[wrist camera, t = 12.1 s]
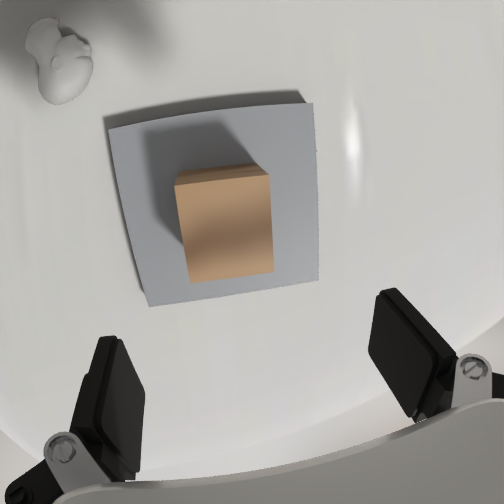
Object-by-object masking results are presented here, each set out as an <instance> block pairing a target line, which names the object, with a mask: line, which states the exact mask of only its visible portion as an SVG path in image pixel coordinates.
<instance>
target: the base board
mask: <svg viewBox="0 0 504 504" xmlns="http://www.w3.org/2000/svg"><path fill="white" fill-rule="evenodd" d="M108 132H109V138H110V145H111V151H112V156H113V162H114V168H115V173H116V178H117V183H118V188H119V193H120V198H121V202H122V207H123V212H124V216H125V220H126V225H127V229H128V233H129V237H130V241H131V245H132V249H133V253H134V257H135V261H136V264H137V268H138V272H139V275H140V279H141V282H142V286H143V289H144V293H145V296H146V299H147V303H148V306H149V307H153V306H160V305H168V304H175V303H182V302H189V301H196V300H202V299H209V298H216V297H222V296H229V295H235V294H241V293H247V292H254V291H260V290H266V289H272V288H277V287H283V286H289V285H295V284H300V283H306V282H312V281H317V280H319V228H318V187H317V163H316V143H315V127H314V112H313V103H295V104H276V105H262V106H250V107H240V108H230V109H221V110H213V111H206V112H198V113H192V114H185V115H179V116H173V117H167V118H161V119H156V120H151V121H146V122H141V123H136V124H131V125H126V126H122V127H117V128H113V129H109V130H108ZM248 163H257V164H258V165H259V166H260V167H261V168H262V169H263V170H265V171H266V172H267V173H268V174H269V179H270V197H271V216H272V235H273V257H274V272H272V273H264V274H257V275H250V276H243V277H235V278H228V279H221V280H213V281H205V282H198V283H190V280H189V274H188V269H187V263H186V257H185V252H184V246H183V240H182V234H181V228H180V221H179V215H178V208H177V201H176V195H175V187H174V185H175V182H176V179H177V176H178V173H179V172H180V171H187V170H195V169H203V168H211V167H219V166H228V165H238V164H248Z"/></svg>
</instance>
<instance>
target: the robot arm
mask: <svg viewBox="0 0 504 504" xmlns="http://www.w3.org/2000/svg"><path fill="white" fill-rule="evenodd" d="M368 352H369V355H370V357H371V359H372V360H373V362H374V364H375V365H376V367H377V368H378V370H379V372H380V373H381V375H382V376H383V378H384V380H385V381H386V383H387V384H388V386H389V388H390V389H391V391H392V392H393V394H394V396H395V397H396V399H397V401H398V402H399V404H400V406H401V407H402V409H403V410H404V412H405V414H406V415H407V416H408V417H412V419H413V421H414V422H415V423H416V424H414V425H411V426H409V427H406V428H404V429H401V430H399V431H396V432H393V433H391V434H388V435H386V436H383V437H380V438H377V439H374V440H372V441H369V442H366V443H363V444H360V445H357V446H353V447H350V448H347V449H344V450H340V451H337V452H334V453H330V454H327V455H323V456H319V457H315V458H312V459H308V460H304V461H299V462H295V463H291V464H286V465H281V466H277V467H271V468H267V469H261V470H255V471H249V472H243V473H237V474H230V475H221V476H213V477H203V478H192V479H178V480H165V481H164V480H162V481H134V482H125V480H135V476H136V472H139V471H140V460H141V443H142V428H143V415H144V404H145V391H144V388H143V386H142V384H141V382H140V380H139V377H138V375H137V373H136V371H135V369H134V366H133V364H132V362H131V360H130V357H129V355H128V353H127V350H126V348H125V346H124V343H123V341H122V340H121V339H117V337H116V336H114V335H113V336H104V337H100V338H99V340H98V343H97V346H96V349H95V353H94V356H93V359H92V362H91V366H90V369H89V372H88V373H87V374H86V375H85V376H84V378H83V381H82V385H81V388H80V392H79V395H78V399H77V402H76V406H75V410H74V414H73V418H72V422H71V426H70V430H69V432H59V433H57V434H54V435H53V436H52V437H50V438H49V439H48V441H47V442H46V444H45V446H44V457H45V459H44V460H43V461H41V462H40V463H39V464H37V465H36V466H35V467H33V468H32V469H30V470H29V471H28V472H26V473H25V474H24V475H22V476H20V477H19V478H18V479H16V480H15V481H13V482H12V483H11V484H10V485H9V486H8V487H7V489H6V492H5V502H6V504H504V375H502V374H497V373H493V372H492V369H491V366H490V364H489V362H488V361H487V360H486V359H485V358H483V357H482V356H480V355H477V354H465V355H463V356H461V357H460V358H458V357H457V356H456V352H455V351H454V350H453V349H452V348H451V347H450V345H449V344H448V343H447V342H446V341H445V340H444V339H443V338H442V337H441V335H440V334H439V333H438V332H437V331H436V330H435V329H434V328H433V327H432V325H431V324H430V323H429V322H428V321H427V320H426V319H425V318H424V317H423V316H422V315H421V314H420V313H419V311H418V310H417V309H416V308H415V307H414V306H413V305H412V304H411V303H410V302H409V301H408V300H407V299H406V298H405V297H404V296H403V295H402V294H401V293H400V291H399V290H398V289H396V288H390V289H386V290H382V291H380V293H379V295H378V296H377V297H376V301H375V308H374V315H373V322H372V328H371V334H370V340H369V346H368ZM426 418H427V419H426ZM424 419H426V420H424ZM422 420H423V421H422ZM420 421H421V422H420ZM417 422H419V423H417Z"/></svg>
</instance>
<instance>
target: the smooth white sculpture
mask: <svg viewBox="0 0 504 504" xmlns="http://www.w3.org/2000/svg"><path fill="white" fill-rule="evenodd" d="M58 26H59V20H57V19H54V18H51V17H46V18H42V19H40V20H38V21H36V22H35V23H34V24H33V25H32V26H31V27H30V28H29V30H28V32H27V36H26V42H25V50H26V51H27V52H29V53H30V54H32V55H33V56H34V58H35V59H36V61H37V63H38V66H39V76H38V86H39V91H40V93H41V95H42V97H43V98H44V99H45V100H46V101H47V102H49V103H51V104H54V105H61V104H65V103H67V102H69V101H71V100H73V99H75V98H76V97H77V96H79V95H80V94H81V93H82V92H83V91H84V89H85V88H86V86H87V84H88V83H89V80H90V78H91V75H92V72H93V61H92V59H91V46H90V45H89V44H84V43H83V42H82V41H80V40H79V39H77V36H76V35H69V36H66V37H62V35H61V33H60V31H59V29H58Z"/></svg>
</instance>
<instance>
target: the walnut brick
mask: <svg viewBox="0 0 504 504" xmlns="http://www.w3.org/2000/svg"><path fill="white" fill-rule="evenodd" d="M174 187H175V195H176V201H177V208H178V215H179V221H180V228H181V234H182V240H183V246H184V252H185V257H186V263H187V269H188V274H189V280H190V283H198V282H205V281H213V280H221V279H228V278H235V277H243V276H250V275H257V274H264V273H272V272H274V257H273V235H272V216H271V197H270V179H269V174H268V173H267V172H266V171H265V170H263V169H262V168H261V167H260V166H259V165H258V164H257V163H248V164H238V165H228V166H219V167H211V168H203V169H195V170H187V171H180V172H179V173H178V176H177V179H176V182H175V185H174Z"/></svg>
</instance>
